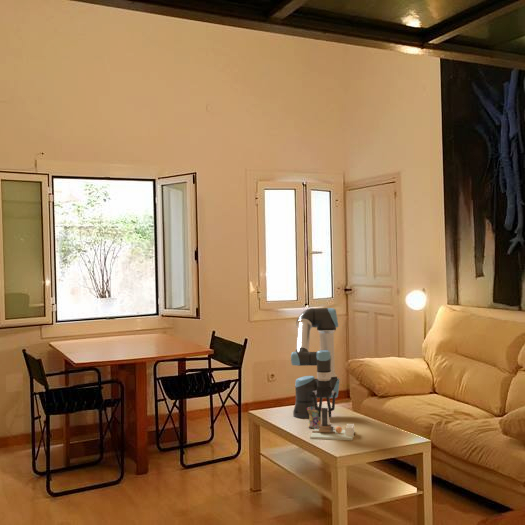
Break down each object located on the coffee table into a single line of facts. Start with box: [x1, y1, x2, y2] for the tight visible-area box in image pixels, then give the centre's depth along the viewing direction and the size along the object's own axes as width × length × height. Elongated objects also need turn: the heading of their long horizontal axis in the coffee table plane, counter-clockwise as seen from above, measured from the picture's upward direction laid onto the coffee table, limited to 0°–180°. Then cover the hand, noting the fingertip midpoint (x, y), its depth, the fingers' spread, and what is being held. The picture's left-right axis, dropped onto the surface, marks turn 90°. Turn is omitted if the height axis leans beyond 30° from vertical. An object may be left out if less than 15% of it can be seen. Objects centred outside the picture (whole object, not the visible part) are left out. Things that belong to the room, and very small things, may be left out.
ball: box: [335, 425, 343, 433], centre depth 330 cm, size 4×4×4 cm
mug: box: [307, 406, 323, 429], centre depth 348 cm, size 12×9×11 cm
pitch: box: [309, 428, 356, 441], centre depth 329 cm, size 16×22×2 cm
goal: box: [344, 423, 355, 437], centre depth 328 cm, size 8×4×4 cm, turn 167°
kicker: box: [318, 407, 335, 432], centre depth 331 cm, size 5×7×12 cm
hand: (325, 423), depth 331 cm, fingers closed on kicker, 3 cm apart
